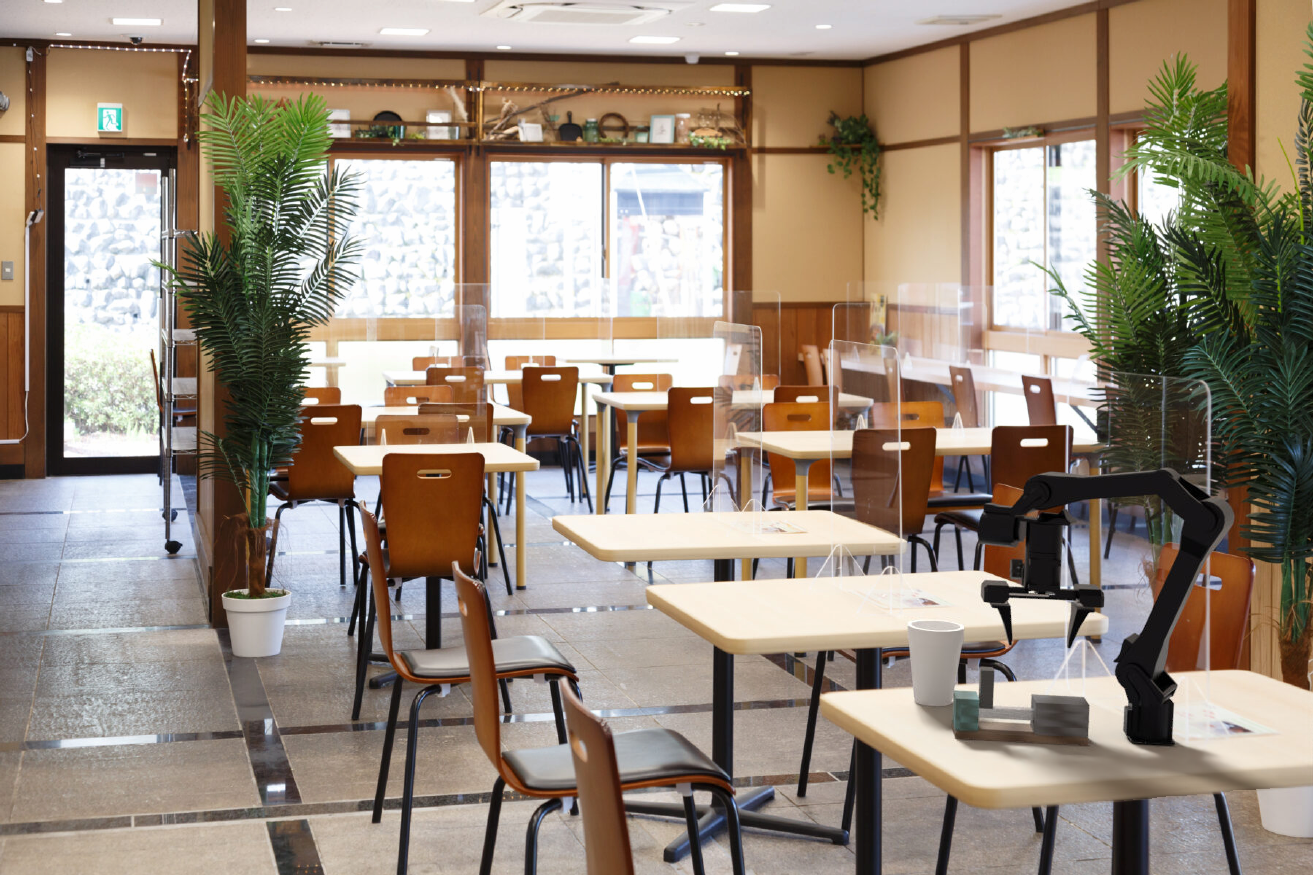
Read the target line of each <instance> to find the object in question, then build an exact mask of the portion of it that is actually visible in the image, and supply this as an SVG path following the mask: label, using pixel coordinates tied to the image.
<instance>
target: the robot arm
mask: <svg viewBox="0 0 1313 875" xmlns="http://www.w3.org/2000/svg"><path fill="white" fill-rule="evenodd" d="M1022 492H1023V493H1022V495H1021V496H1020V497H1019V498H1018V499H1017V500H1016V502H1015V503H1013V505H1003V504H998V503H995V502H988V503H984V504H983V510H982V512H981V515H980V517H979V520H978V524H977V525H976V526H977V528H976V531H977V532H976V533H977V534H976V535H977V540H978V542H979V544H981V545H989V546H996V547H997V546H998V547H1006V548H1017V547H1018V546H1019V544H1020V543H1023V542H1025V548H1024V560H1023V559H1019V558H1011V559H1010V560H1009V561H1010V562H1009V579H1010V580H1020V586H1012V585H1011V586H1009V583H1007V580H995V579H994V580H992V579H984V580H983V581H982V582H981V584H980V597H981V599H982V601H983V603H988V604H989V606H990V607H991V608H992V609H997V612H998V613H999V616H1000V619H1001V621H1002V625H1003V628H1004V632H1005V636H1006V639H1007V642H1008V646H1012V645H1013V639H1014V638H1013V622H1012V609H1011V608H1012V607H1011V605H1010V603H1009V601H1010V599H1025V600H1027V599H1029V600H1048V601H1049V600H1050V601H1052V600H1053V601H1055V600H1056V601H1070V616H1069V624H1068V631H1067V636H1066V648H1067V649H1071V648H1072V646H1073V644H1074V641H1075V639H1076V637H1077V634H1078V632H1079V631H1080V628H1081V627H1082V625H1083V624H1084V621H1085V620H1086V618H1087V617H1088V615H1089V614H1093V613H1096V609H1097V608H1101V609H1102V608H1105V593H1104V592H1103V590H1102V589H1101V588H1100V587H1099V586H1098V585H1097V584H1088V583H1087V584H1086V583H1074V584H1073V588H1061V585H1062V584H1061V582H1062V581H1061V579H1062V563H1063V562H1062V558H1063V557H1062V556H1063V532H1064V527H1065V526H1066V527H1069V526H1073V525H1075V524H1077V522H1078V520H1077V518H1075V517H1074V516H1073V515H1072V514H1071V513H1070V512H1069V510H1068V509H1066V508H1065V509H1061V510H1060V512H1057V513H1055V512H1048V511H1047V512H1046V510H1051V509H1054V508H1059V507H1063V506H1065V505H1069V504H1074V503H1078V502H1081V501H1087V500H1089V501H1090V500H1101V499H1114V498H1129V497H1138V496H1141V497H1142V496H1155V495H1156V496H1157V497H1159V498H1160V499H1161V500H1162V501H1163V502H1164V503H1165V504H1166V506H1168V507H1169V508H1170V510H1172V512H1173V513H1175V515H1177V516H1178V517H1179V518H1180V519H1181V520H1183V522H1182V527H1181V532H1180V535H1179V536H1180V537H1179V546H1178V547H1179V548H1178V552H1177V555H1176V557H1175V559H1174V561H1173V564H1172V565H1171V567H1170V570H1169V572H1168V574H1167V577H1166V579H1165V580H1164V583H1163V585H1162V587H1161V589H1160V591H1159V593H1158V596H1157V597H1156V600H1155V602H1154V605H1153V607H1152V609H1151V611H1150V613H1149V615H1148V617H1147V619H1146V622H1145V624H1144V626H1143V629H1142V631H1141V632H1140V633H1139V634H1137V632H1134V633H1132V634H1130V635H1128V636H1127V637H1126V638H1123V641H1122V644H1121V647H1120V651H1119V654H1118V655H1117V657H1116V658H1115V659H1113V661H1112V662H1113V663H1114V664H1115V663H1116V665H1115V669H1114V675H1115V678H1116V680H1117V682H1118V684H1119V685H1120V686H1121V687H1122V688H1123V689H1124V692H1125V695H1126V698H1127V701H1128V703H1127V705H1125V706H1124V707H1123V727H1122V731H1123V732H1124V734H1125V735H1126V736H1127V738H1128V739H1129V741H1130V742H1131V743H1132V744H1149V745H1166V746H1168V745H1169V746H1175V745H1176V741H1175V740H1174V738H1173V736H1174V735H1173V732H1174V731H1173V730H1174V714H1175V712H1174V710H1175V702H1173V700H1172V699H1171V698H1172V697H1174V696H1175V693H1176V692H1177V689H1178V686H1179V685H1178V683H1177V682H1176V681H1175V680H1174V678H1172V676H1171V675H1170V674H1169V673H1168V671H1166V670H1165V666H1166V662H1167V658H1168V652H1169V644H1170V638H1171V636H1172V633H1173V631H1174V629H1175V627H1176V625H1177V622H1178V621H1179V619H1180V616H1181V615H1182V612H1183V610H1184V608H1185V606H1186V604H1187V602H1188V599H1189V597H1190V595H1191V593H1192V590H1193V588H1194V586H1195V584H1196V582H1197V580H1198V577H1199V576H1200V573H1201V571H1202V569H1203V568H1204V565H1205V563H1206V561H1207V559H1208V558H1209V557H1210V555H1211V554H1212V553H1213V552H1214V550H1216V548H1217V547H1218V545H1219V544H1220V543H1221V542H1222V540H1223V539H1224V538H1225V536H1226V535H1227V533H1228V532H1229V531H1230V529H1231V528H1232V526H1233V525H1234V522H1235V513H1234V510H1233V508H1232V506H1231V505H1230V504H1229V503H1228V501H1226V500H1225V499H1223V498H1219V497H1212V495H1210V494H1208V493H1207V492H1206V491H1205V490H1203V489H1202V488H1200V487H1199V486H1197V485H1195V484H1194V483H1192V482H1191V481H1189V480H1188V479H1186V478H1185V477H1183V476H1182V475H1181V474H1180V473H1178V472H1177V471H1176V469H1174V468H1171V467H1161V468H1160V469H1154V470H1153V469H1152V470H1143V471H1132V472H1131V471H1130V472H1120V473H1119V472H1118V473H1107V474H1095V475H1085V474H1084V475H1083V474H1076V473H1070V472H1069V473H1068V472H1058V471H1047V472H1043V473H1039V474H1034V475H1032V476H1030V477H1029V478H1028V479H1027V480H1026V482H1025V483H1024V486H1023V491H1022ZM1038 511H1042V512H1040V513H1039V514H1038V515H1037V516H1029V515H1028V516H1027V514H1030V513H1034V512H1038ZM1031 592H1032V593H1031Z"/></svg>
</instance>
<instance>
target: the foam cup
mask: <svg viewBox="0 0 1313 875" xmlns="http://www.w3.org/2000/svg"><path fill="white" fill-rule="evenodd" d="M906 633H907V634H906V637H907V640H908V646H909V648H908V649H909V657H910V669H911V677H912V678H911V679H912V690H913V700H914V702H915V703H917V704H919V705H923V706H929V707H944V706H945V707H947V706H950V705H951V704H952V705H953V693H954V690H955V689H956V688H955V687H956V681H957V675H958V671H959V670H958V669H959V664H960V658H961V652H962V647H963V643H964V639H965V638H964V637H965V627H964V625H963V624H961V623H958V622H955V621H950V620H942V619H915V620H911V621H908V622H907V632H906Z"/></svg>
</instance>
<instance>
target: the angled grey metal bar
mask: <svg viewBox="0 0 1313 875" xmlns="http://www.w3.org/2000/svg"><path fill="white" fill-rule="evenodd" d="M978 675H979V677H978V678H979V679H978V680H979V681H978V698H979V719H991V720H992V719H996V720H997V719H998V720H1015V721H1034V708H1031V707H1024V706H1023V707H1021V706H1005V705H1004V706H1002V705H994V694H995V693H994V691H995V668H994V667H993V666H979V674H978Z"/></svg>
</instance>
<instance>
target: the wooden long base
mask: <svg viewBox="0 0 1313 875" xmlns="http://www.w3.org/2000/svg"><path fill="white" fill-rule="evenodd" d="M1030 696H1031V697H1030V698H1031V699H1030V708H1034V721H1030V720H1029V721H1030V722H1029V723H1023V722H1007V721H1006V722H1003V721H1000V722H999V721H987V720H985V721H982V720H979V719H980V718H979V694H978V693H977V691H974V690H958V689H957V690H956V689H954V693H953V700H952V719H951V727H952V728H951V729H952V731H953V732H952V733H953V736H954V739H956V740H957V739H958V740H959V739H961V740H975V741H994V742H1013V743H1016V742H1017V743H1027V744H1029V743H1030V744H1031V743H1032V744H1049V745H1064V746H1065V745H1066V746H1069V745H1070V746H1085V747H1089V746H1090V738H1089V727H1090V726H1089V725H1090V704H1089V703H1088V701H1087V699H1086V697H1084V696H1071V695H1069V696H1068V695H1053V694H1052V695H1051V694H1035V693H1033V694H1031V695H1030Z"/></svg>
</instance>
